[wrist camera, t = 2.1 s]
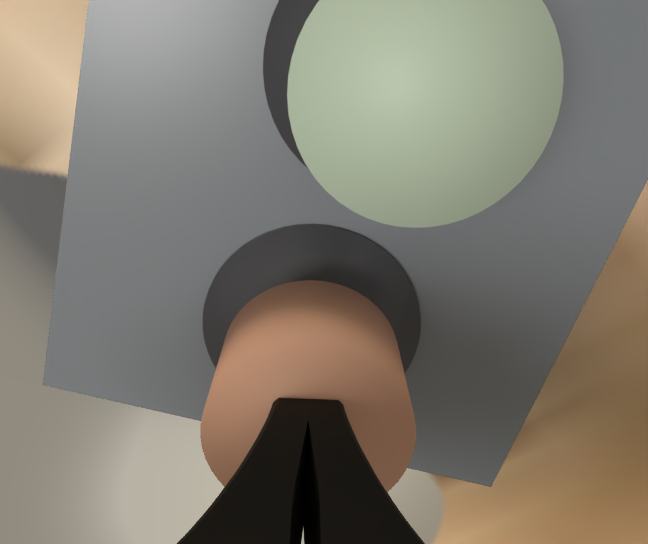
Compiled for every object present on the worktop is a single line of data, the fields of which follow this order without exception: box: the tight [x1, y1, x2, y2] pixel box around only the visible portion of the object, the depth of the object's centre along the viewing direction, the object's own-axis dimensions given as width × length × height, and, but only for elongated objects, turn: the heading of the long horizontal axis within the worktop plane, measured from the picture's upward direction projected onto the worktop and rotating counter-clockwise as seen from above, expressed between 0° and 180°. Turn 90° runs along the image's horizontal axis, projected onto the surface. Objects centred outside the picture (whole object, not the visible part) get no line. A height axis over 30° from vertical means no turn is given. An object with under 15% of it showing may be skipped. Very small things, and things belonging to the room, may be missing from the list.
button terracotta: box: [201, 280, 416, 492], centre depth 14 cm, size 4×4×3 cm
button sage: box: [287, 0, 564, 228], centre depth 11 cm, size 4×4×3 cm
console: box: [43, 0, 648, 487], centre depth 15 cm, size 14×22×2 cm, turn 164°
